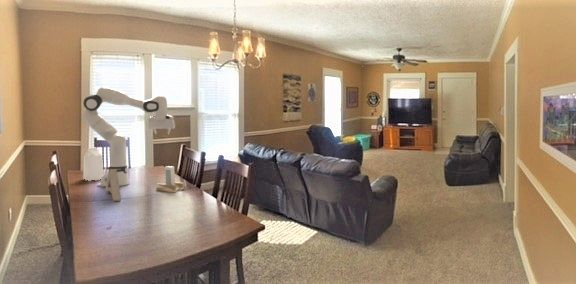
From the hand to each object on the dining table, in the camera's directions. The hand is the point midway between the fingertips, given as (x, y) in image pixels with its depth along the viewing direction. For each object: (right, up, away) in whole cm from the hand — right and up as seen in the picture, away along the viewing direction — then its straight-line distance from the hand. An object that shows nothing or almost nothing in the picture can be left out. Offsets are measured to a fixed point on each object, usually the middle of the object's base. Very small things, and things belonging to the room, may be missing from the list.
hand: (162, 134), depth 314 cm
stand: (+14, -40, -26) cm, 49 cm away
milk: (-60, -36, +13) cm, 71 cm away
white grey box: (+14, -38, -26) cm, 48 cm away
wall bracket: (-19, -42, -45) cm, 64 cm away
